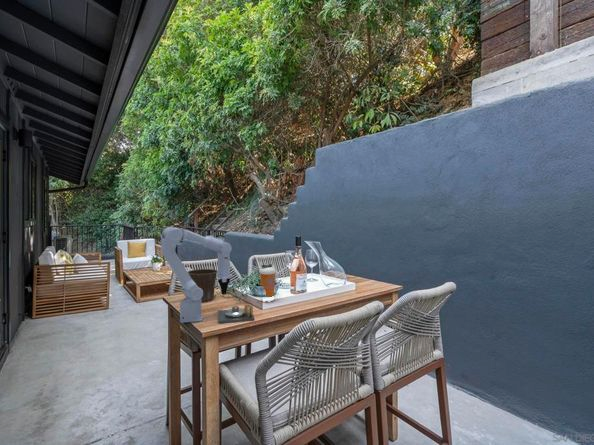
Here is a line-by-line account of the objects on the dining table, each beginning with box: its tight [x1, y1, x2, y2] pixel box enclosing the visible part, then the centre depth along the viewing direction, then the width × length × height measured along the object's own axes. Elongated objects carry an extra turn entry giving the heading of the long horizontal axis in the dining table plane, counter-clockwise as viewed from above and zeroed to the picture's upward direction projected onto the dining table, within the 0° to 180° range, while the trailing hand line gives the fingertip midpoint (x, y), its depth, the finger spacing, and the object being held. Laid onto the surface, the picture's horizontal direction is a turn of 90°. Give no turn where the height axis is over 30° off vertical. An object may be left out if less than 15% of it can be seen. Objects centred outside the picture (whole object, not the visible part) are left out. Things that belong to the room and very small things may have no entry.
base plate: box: [217, 307, 256, 325], centre depth 152 cm, size 16×16×1 cm
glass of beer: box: [259, 263, 277, 297], centre depth 179 cm, size 9×9×20 cm
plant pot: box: [187, 268, 218, 303], centre depth 182 cm, size 16×16×16 cm
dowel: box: [247, 307, 250, 317], centre depth 149 cm, size 2×2×4 cm
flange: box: [225, 303, 254, 317], centre depth 152 cm, size 14×10×4 cm
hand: (224, 293), depth 158 cm, fingers closed
